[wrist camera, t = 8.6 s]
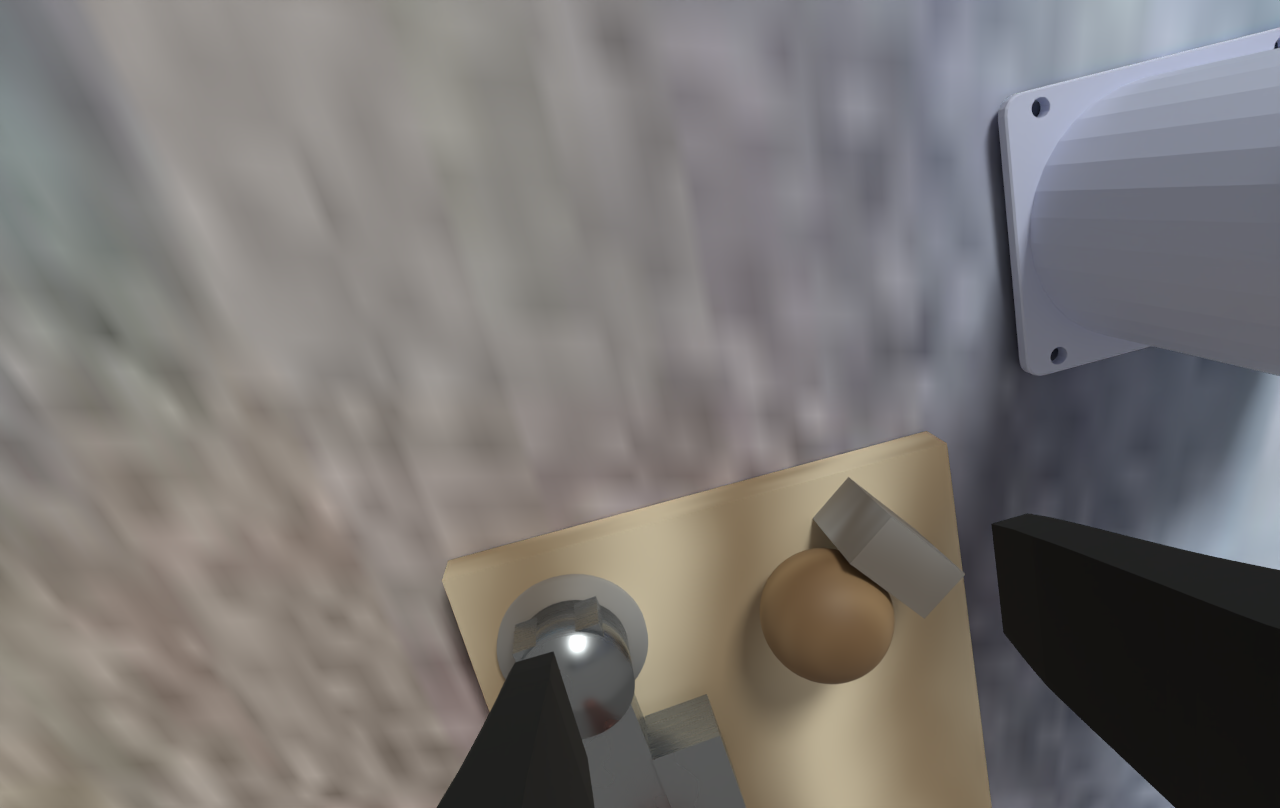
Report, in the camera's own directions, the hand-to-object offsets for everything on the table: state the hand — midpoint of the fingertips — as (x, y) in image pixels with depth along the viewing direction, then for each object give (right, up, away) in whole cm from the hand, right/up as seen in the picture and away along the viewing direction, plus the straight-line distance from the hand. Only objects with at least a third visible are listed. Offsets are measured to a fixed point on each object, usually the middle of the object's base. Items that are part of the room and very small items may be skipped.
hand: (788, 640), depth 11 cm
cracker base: (+1, -6, +13) cm, 14 cm away
